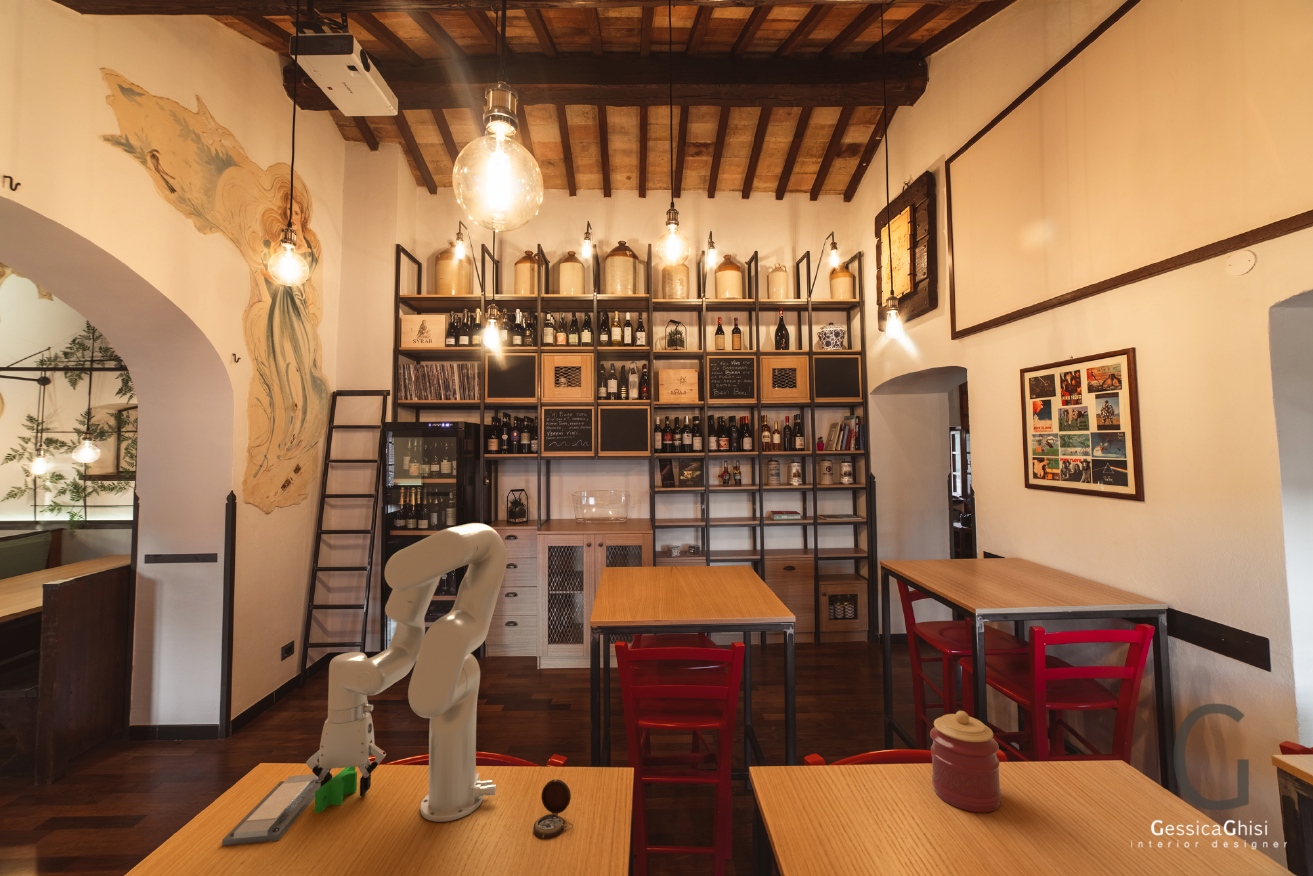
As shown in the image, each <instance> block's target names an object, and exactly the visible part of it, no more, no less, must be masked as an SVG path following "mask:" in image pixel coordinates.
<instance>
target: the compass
mask: <svg viewBox="0 0 1313 876" xmlns="http://www.w3.org/2000/svg"><path fill="white" fill-rule="evenodd" d="M571 796H572V795H571V790H570V788H569V786H568V785H567V783H566V781H565V782H564V781H563V780H561V779H558V778H557V779H552V780H549V781H548V782H547V783H546V784H545V785H544V787H543V788H542V792H541V803H542V805H543V807H544V808H545V809H546V810H547V811H548V812H550V813H549V814H545V815H542V816H541V817H539V818H538V819H536V820H535V822H534V824H533V826H532V827H533V828H532V830H533V833H534V835H536V836H537V837H539V838H542V839H549V838H550V837H551V838H554V837H556V835H557V836H558V835H559V834H561V833H562V832H563V831H564V830H565V831H566V830H567V831H568V830H569V831H570V830H572V828H573V827H574V824H573V823H571V822H569V823H566V824H565V819H564V818H563V817H562V816H560V815H559V814H560V813H563V812H564V811H566V809H567V808H568V806H569V805H570V802H571V800H572V798H571ZM568 825H571V827H570V828H567V827H568ZM553 836H554V837H553Z"/></svg>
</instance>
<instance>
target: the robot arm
mask: <svg viewBox="0 0 1313 876" xmlns="http://www.w3.org/2000/svg"><path fill="white" fill-rule="evenodd" d="M507 554H508V553H507V547H506V545H505V542H504V540H503V539H502V537H501V535H500V534H499V533H498V532H497V531H496V530H495V528H493V527H491V526H490V525H487V524H485V523H480V522H471V523H466V524H462V525H457V526H453V527H448V528H444V529H441V530H439V531H438V532H435V533H433V534H431V535H429V536H427V537H426V538H423V539H421V540H419V541H417V542H414V543H413V544H411V545H408V546H407V547H404V548H402V549H399V550H397V552H395V553H393V554H392V555H391V556H390V558H389V559H388V560H387V562H386V564H385V568H384V579H385V582H386V583H387V585H388V586H389V587H390V588H391V589H392V590H391V593H390V595H389V598H388V600H387V602H386V604H385V608H384V612H385V614H386V616H387V617H388V618H389V619H390V620H392V621H394V622H396V627H395V629H394V634H393V636H392V638H391V640H390V643H389V645H388V646H387V649H385V650H383V651H381V652H379V653H378V654H376V655H373V656H372V657H368V656H367V655H366V654H365V653H364V652H360V651H349V652H344V653H342V654H339V655H336V656H334V657H333V658H332V659H331V660H330V662H329V665H328V666H329V667H328V699H327V700H328V701H327V702H328V703H327V718H326V720H325V721H324V724H323V727H322V731H321V737H320V743H319V750H317V752H315V753H313V755H311V757H309V758H308V760H307V761H306V762H305V764H306V766H307V767H308V768H309V769H310V770H311V771H312V773H313V774H315V775H316V776H317V777H318V780H319V781H321V787H322V786H323V785H324V784H325V783H327V782H328V781H329V780H331V779H332V778H333V774H332V772H331V770H332V769H345V768H346V767H355V768H356V767H357V768H358V770H359V771H360V773H361V777H360V778H359V797H361V798H362V797H365V795H366V794H367V792H368V791H369V790H370V788H371V785H372V773H373V771H375V769H377V767H378V766H379V765H380V763H381V762H382V761H383V759H384V758H385V757H386V755H387V753H386V752H385V751H384V750H383V749H381V748H380V747H378V746H377V745H376V744H375V730H374V723H373V717H372V714H371V712H372V711H373V710H374V704H371V703H370V704H369V702H368V701H369V700H368V697H369V696H375V695H379V694H380V693H382V692H384V691H385V690H387V688H390V687H391V686H392V685H394V684H395V683H397V682H398V681H400V680H402V679H403V678H404V677H406V676H407V675H408V674H410V672H411V670H412V668H413V670H412V674H411V677H410V679H409V680H410V681H409V685H408V690H407V698H408V703H409V706H410V708H411V710H412V711H413V712H414V713H415V715H417V716H419V717H421V718H424V719H429V732H428V738H429V739H428V794H426V795H425V797H423V799H422V800H421V802H420V815H421V816H422V817H423V818H424V819H426V820H428V821H430V822H437V823H438V822H439V823H442V822H444V823H445V822H452V821H454V820H459V819H461V818H464V817H465V816H468V815H470V814H471V813H473V812H474V811H475V810H477V809H478V808H479V806H480V805H481V804H482V802H483V799H484V796H496V793H497V784H493V780H492V779H487V780H482V779H480V773H479V772H477V771H476V769H477V767H476V766H477V760H476V759H477V756H476V755H477V747H476V746H477V707H478V706H477V704H478V697H479V696H478V695H479V689H480V682H481V681H480V680H481V669H480V664H479V661H478V660H477V658H476V657H475V656H474V654H472V653H473V652H474V651H475V650H477V649H478V648H479V647H480V646H482V644H483V643H484V642H485V640H486V639H487V636H488V633H489V629H490V625H491V623H492V618H493V615H494V611H495V609H496V604H497V602H498V598H499V594H500V590H501V587H502V584H503V582H504V581H503V580H504V577H505V574H506V571H507V562H508V555H507ZM467 565H468V567H467V570H466V571H465V574H464V577H463V579H462V580H461V582H460V584H459V587H458V591H457V595H456V598H455V600H454V603H453V607H452V608H451V609H450V611H449V612H448V613H446V614H445V615H443V616H441V617H439V618H438V619H436V620H435V621H434V622H433V623H432V624H431V625H430V626H429V627H428V629H427V630H426V623H425V616H426V614H427V611H428V608H429V606H430V603H431V601H432V599H433V597H434V594H435V592H436V590H437V588H438V585H439V582H440V581H441V577H442V576H444V575H446V574H447V573H451V572H452V571H455V570H456V569H460V568H461V567H464V566H467ZM383 752H385V754H383ZM372 756H374V757H375V760H373V762H371V760H370V758H369V757H372ZM476 772H477V773H476Z"/></svg>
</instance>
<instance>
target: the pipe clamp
mask: <svg viewBox="0 0 1313 876" xmlns="http://www.w3.org/2000/svg"><path fill="white" fill-rule="evenodd" d="M357 788H358V771H356V767H346V768H342V769H341V771H340V772H338V773H336V775H334V776H332V779H331V780H329V781H328V782H327V783H325V784H324V785H323V786H322V787H320V788H319V789H318V790H317V791H315V798H314V814H320V813H322V812H323V811H324V810H325V809H326V808H328V807H329V806H342V805H343V803H344V797H345V796H347V795H350V793H351V794H355V793H357V792H358V789H357ZM356 791H357V792H356ZM346 794H347V795H346Z"/></svg>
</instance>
